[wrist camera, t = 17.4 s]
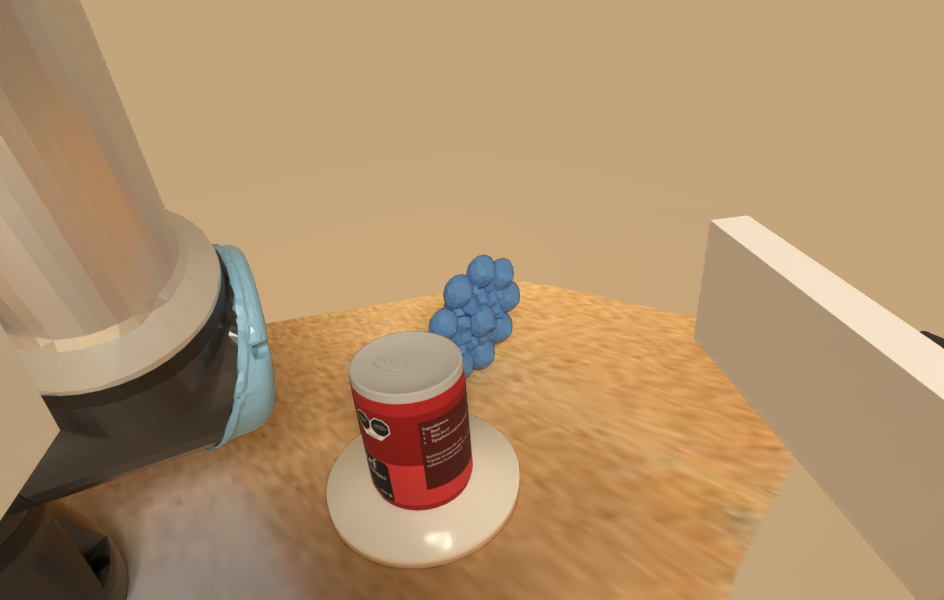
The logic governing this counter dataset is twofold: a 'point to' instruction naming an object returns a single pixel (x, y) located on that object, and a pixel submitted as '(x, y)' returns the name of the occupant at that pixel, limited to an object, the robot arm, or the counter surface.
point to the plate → (425, 531)
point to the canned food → (413, 418)
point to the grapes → (478, 310)
